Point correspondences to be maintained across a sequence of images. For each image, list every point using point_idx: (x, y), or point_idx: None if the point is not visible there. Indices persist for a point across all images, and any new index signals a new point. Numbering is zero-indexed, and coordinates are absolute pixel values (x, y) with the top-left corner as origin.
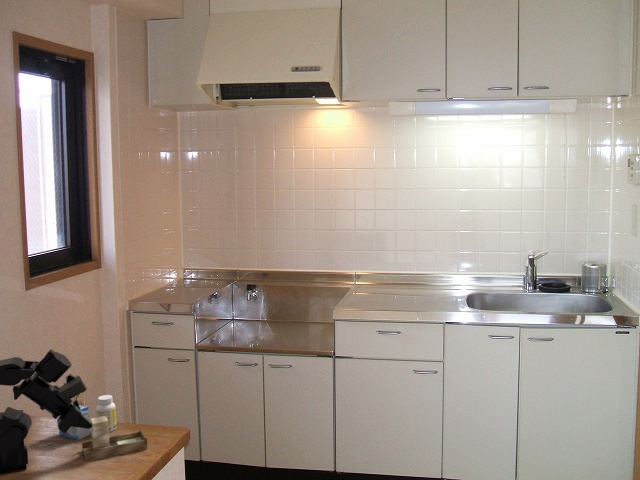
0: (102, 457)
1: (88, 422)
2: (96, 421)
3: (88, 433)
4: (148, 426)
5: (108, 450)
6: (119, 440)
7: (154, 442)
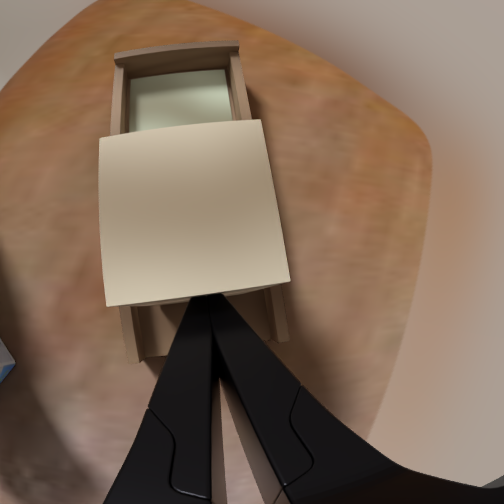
0: None
1: (253, 332)
2: (233, 236)
3: None
4: (23, 74)
5: None
6: None
7: None
